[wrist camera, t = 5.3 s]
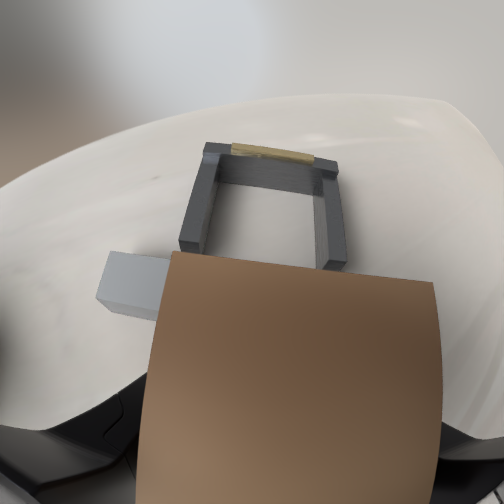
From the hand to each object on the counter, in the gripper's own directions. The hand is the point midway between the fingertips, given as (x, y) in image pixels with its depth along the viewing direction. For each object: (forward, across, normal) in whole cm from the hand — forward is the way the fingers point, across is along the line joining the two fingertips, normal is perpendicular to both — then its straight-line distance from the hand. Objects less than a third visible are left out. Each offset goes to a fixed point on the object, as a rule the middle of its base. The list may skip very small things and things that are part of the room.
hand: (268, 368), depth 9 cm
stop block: (+4, 0, +6) cm, 7 cm away
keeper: (+12, 0, -2) cm, 12 cm away
